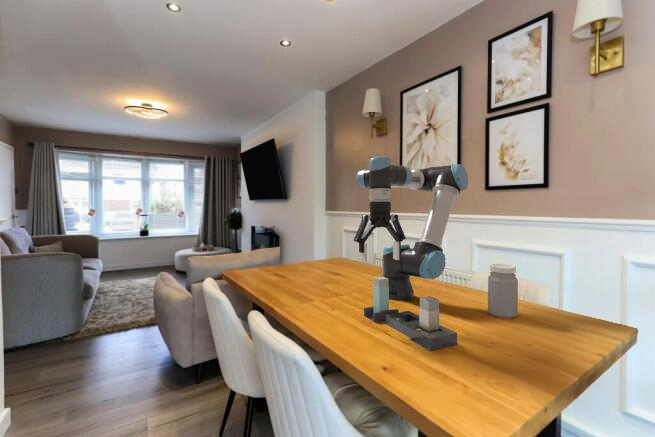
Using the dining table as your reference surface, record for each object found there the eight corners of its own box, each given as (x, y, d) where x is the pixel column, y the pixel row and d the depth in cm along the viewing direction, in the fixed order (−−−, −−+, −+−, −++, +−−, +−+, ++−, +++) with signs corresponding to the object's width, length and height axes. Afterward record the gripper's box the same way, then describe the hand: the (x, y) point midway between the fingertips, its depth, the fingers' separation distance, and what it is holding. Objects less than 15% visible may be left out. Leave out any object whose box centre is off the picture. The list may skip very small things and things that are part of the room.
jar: (520, 314, 117) (521, 265, 117) (514, 321, 110) (514, 269, 109) (492, 308, 124) (492, 262, 123) (483, 315, 117) (484, 266, 116)
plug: (382, 314, 117) (382, 276, 117) (388, 317, 113) (388, 278, 113) (373, 315, 115) (373, 277, 115) (379, 319, 112) (379, 279, 111)
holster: (386, 313, 120) (386, 303, 120) (399, 319, 113) (399, 309, 113) (363, 317, 116) (363, 307, 116) (375, 324, 109) (375, 313, 109)
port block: (408, 320, 112) (408, 285, 112) (457, 344, 92) (457, 301, 92) (384, 325, 108) (384, 288, 108) (430, 351, 88) (430, 306, 87)
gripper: (354, 200, 105) (354, 265, 105) (415, 200, 115) (415, 259, 115) (344, 201, 112) (344, 261, 112) (402, 201, 122) (402, 256, 122)
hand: (380, 260), depth 114 cm, fingers open, 13 cm apart
